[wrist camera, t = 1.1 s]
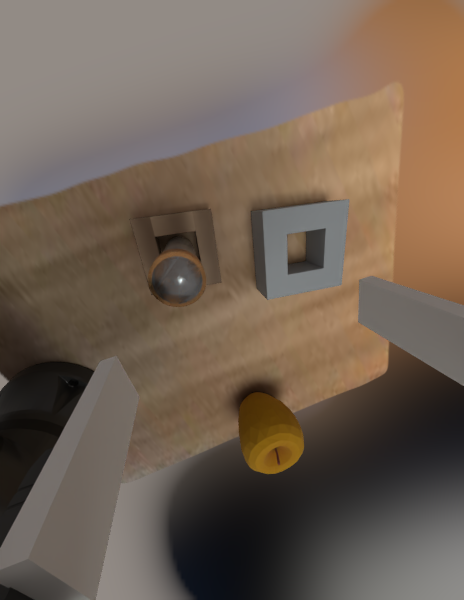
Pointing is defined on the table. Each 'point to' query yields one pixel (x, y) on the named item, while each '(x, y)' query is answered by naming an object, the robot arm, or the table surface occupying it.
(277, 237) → the socket
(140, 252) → the mount
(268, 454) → the apple
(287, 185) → the table surface
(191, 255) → the pin
